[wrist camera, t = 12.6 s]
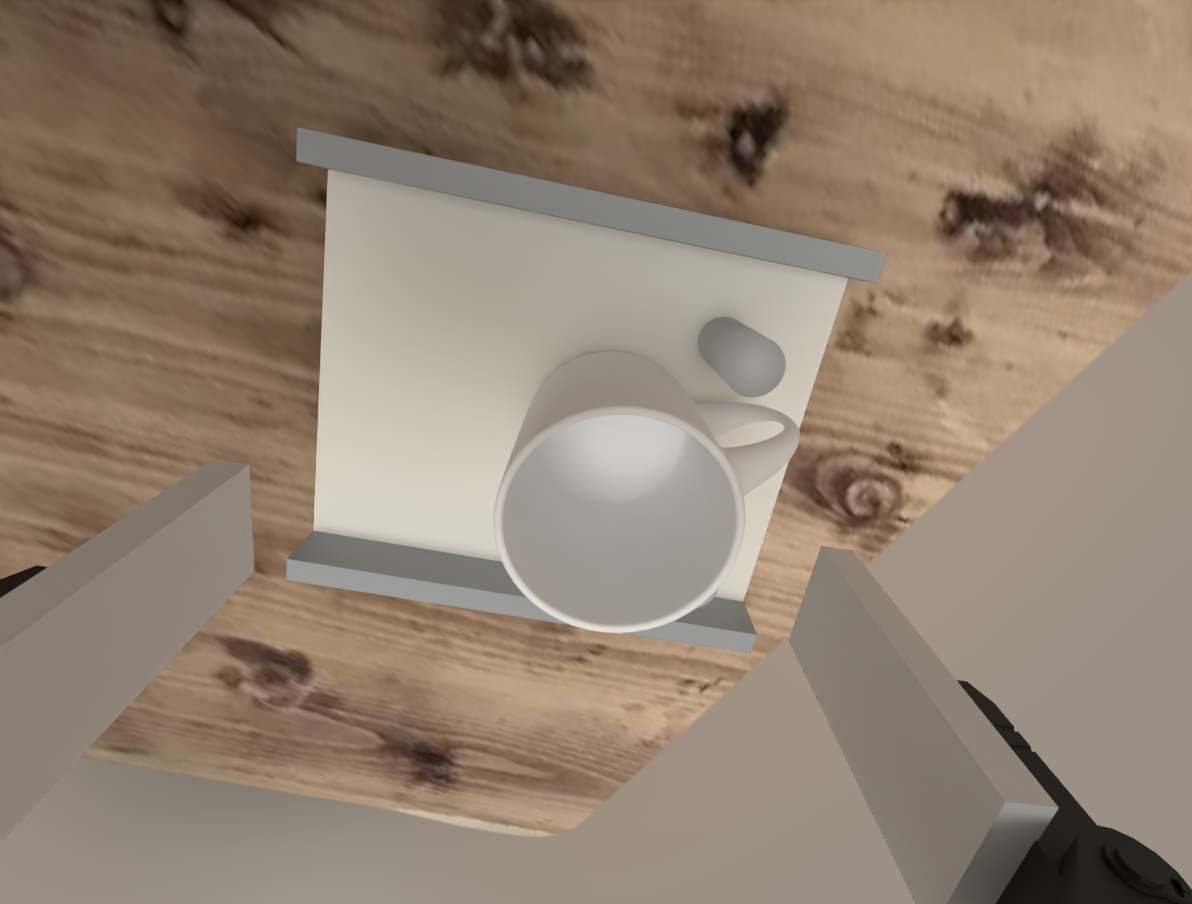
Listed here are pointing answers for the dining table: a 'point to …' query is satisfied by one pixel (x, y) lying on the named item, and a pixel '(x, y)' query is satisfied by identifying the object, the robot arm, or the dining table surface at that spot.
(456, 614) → the dining table surface
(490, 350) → the channel board
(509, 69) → the dining table surface
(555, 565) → the mug
